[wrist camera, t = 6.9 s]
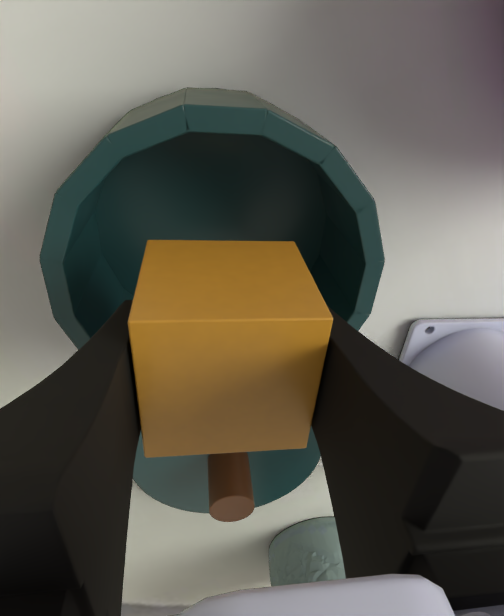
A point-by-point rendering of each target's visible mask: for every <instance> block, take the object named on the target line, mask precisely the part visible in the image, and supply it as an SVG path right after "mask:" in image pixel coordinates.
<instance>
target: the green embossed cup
mask: <svg viewBox="0 0 504 616" xmlns="http://www.w3.org/2000/svg"><path fill="white" fill-rule="evenodd" d="M269 570H270V581H271V587H273V586H282V585H292V584H301V583H311V582H320V581H329V580H339V579H346V576H345V570H344V564H343V558H342V553H341V548H340V543H339V537H338V532H337V527H336V522H335V517H323V518H316V519H311V520H307V521H303V522H301V523H298V524H295V525H293V526H291V527H289V528H287V529H286V530H284V531H282V532H281V533H280V534H279V535H277V536H276V537H275V538H274V540H273V541H272V543H271V545H270V547H269Z"/></svg>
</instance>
